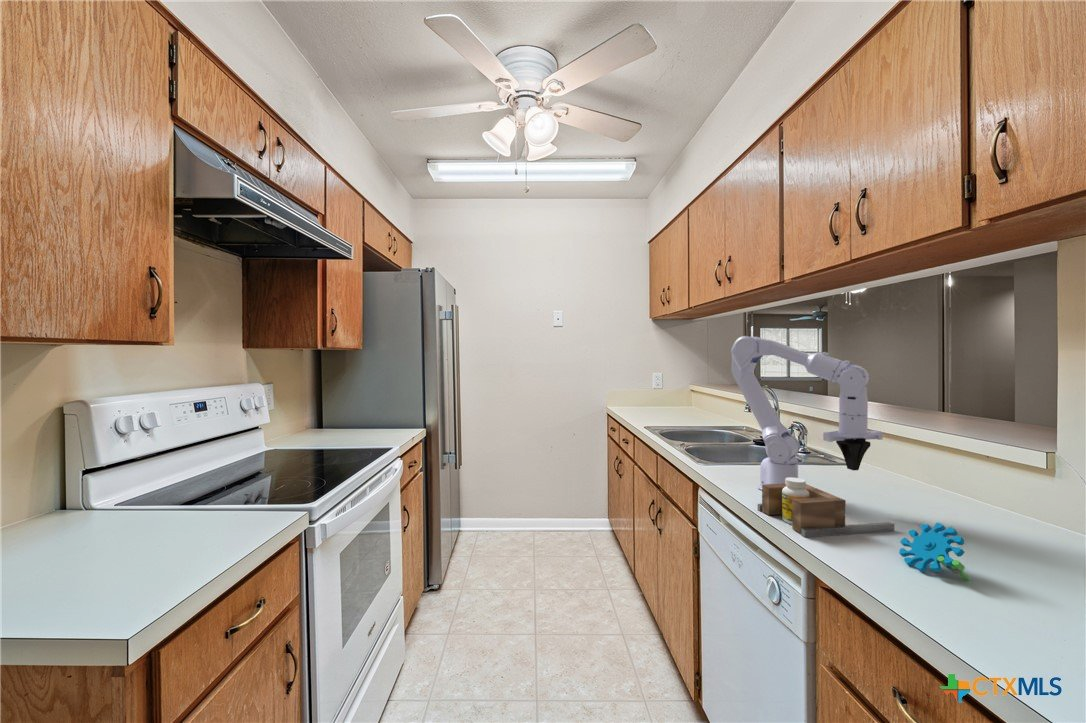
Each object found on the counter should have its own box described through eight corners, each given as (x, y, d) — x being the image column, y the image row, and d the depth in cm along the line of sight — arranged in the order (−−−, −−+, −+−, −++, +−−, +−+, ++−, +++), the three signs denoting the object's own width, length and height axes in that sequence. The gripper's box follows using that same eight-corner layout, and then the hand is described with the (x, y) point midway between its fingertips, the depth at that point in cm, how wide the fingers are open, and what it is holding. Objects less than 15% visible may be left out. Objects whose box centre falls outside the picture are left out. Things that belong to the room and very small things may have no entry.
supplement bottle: (815, 524, 98) (815, 481, 98) (796, 527, 96) (796, 484, 96) (794, 515, 103) (794, 475, 103) (776, 518, 102) (776, 477, 101)
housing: (762, 511, 106) (762, 484, 106) (801, 508, 107) (801, 482, 107) (800, 533, 93) (800, 502, 93) (845, 530, 94) (845, 500, 94)
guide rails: (757, 509, 107) (757, 503, 107) (835, 505, 110) (835, 499, 110) (804, 537, 91) (804, 530, 91) (894, 530, 94) (894, 523, 94)
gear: (885, 543, 84) (930, 511, 82) (907, 565, 84) (952, 533, 82) (926, 581, 74) (979, 545, 71) (951, 605, 74) (1005, 570, 71)
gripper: (839, 417, 103) (839, 475, 103) (894, 415, 105) (893, 472, 105) (816, 413, 110) (816, 467, 110) (868, 411, 112) (868, 464, 112)
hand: (852, 469), depth 108 cm, fingers closed
